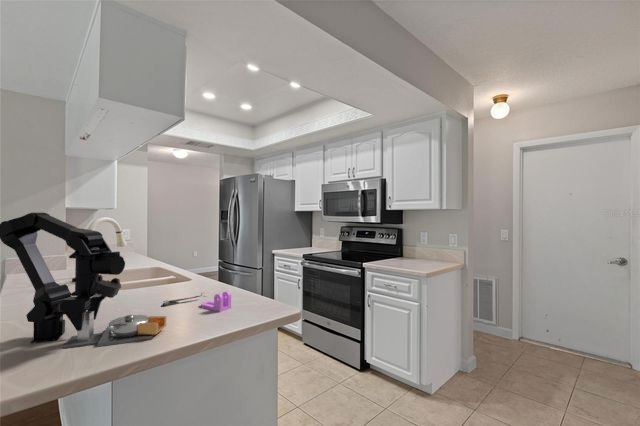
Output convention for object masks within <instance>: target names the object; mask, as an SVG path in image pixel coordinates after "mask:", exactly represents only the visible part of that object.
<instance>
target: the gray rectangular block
mask: <svg viewBox="0 0 640 426" xmlns="http://www.w3.org/2000/svg"><path fill="white" fill-rule="evenodd" d="M94 327H95V320H94V311H88V310H87V311H86V312H85V314H84V320H83V326H82V330H80V331H77V330H76V331H77V335H76V336H77V342H79V341H89V340H90V339H92V338H93V337H94V334H95V333H94V332H95V328H94Z"/></svg>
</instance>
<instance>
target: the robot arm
mask: <svg viewBox="0 0 640 426" xmlns="http://www.w3.org/2000/svg"><path fill="white" fill-rule="evenodd" d="M41 230H42V231H44V232H46V233H48V234H50V235H53V236H55V237H57V238H59V239H62V240H63V241H65V243H66V245H67V246H68V247H69V248H71V249H72V250H73V251H74V252H73V253H71V254H70V255H69V256H68V258H69V259H75V269H74V270H75V271H74V272H75V273H74V277H72V279H71V283H74V291H72V292H71V291H70V289H69V286H68V285H67V284H66V283H65V284H61V285H60V284H59V283H57V282H56V280H55V278H54V276H53V275H52V273H51V271H50V269H49V267H48V265H47V263H46V261H45V260H44V258H43V256H42V253H41V251H40V250H39V248H38V246H37V238H38V232H39V231H41ZM0 241H1V242H2V244H3V245H5V246H7V247H8V248H11V249H12V250H14V252H15V253H16V256H17V258H18V259H19V261H20V263H21V265H22V267H23V269H24V271H25V274H26V276H27V277H28V279H29V281H30V282H31V285H32V287H33V289H34V290H35V292H34V295H33V299H32V303H33V307H32V308H31V309H30V311H29V312H27V314H26V315H25V316H26V319H27V322H29V323H33V338H32V339H31V340H30V343H31V344H33V343H40V342H50V341H56V340H59V339H60V338H61V337H62V336H63V335H64V334H65V333H66V319H64V315H65V316H66V317H67V318H68V320H69V321H70V322H71V324H72V325H73V327H74V328H75V331H80V330H82V326H83V320H84V314H85V312H86V311H94V321H95V320H96V318H97V316H98V313H99V309H100V307H101V304H102V301H104V300H105V299H106V298H109V299H112V298H114V297H116V296H117V295H118V293H119V291H120V289H122V283H121V281H120V279H119V278H117V277H114V278H112V279H111V280H109V279H108V280H104V279H103V277H104V276H103V275H113V276H114V275H115V276H118V275H120V274H122V272H123V271H124V269H125V266H126V261H125V259H124V257H123V256H122V255H121V252H120V251H112V250H111V248H110V246H109V245H108V243H107V242H106V240H105V239H104V237H103V234H102V232H100V231H96V230H92V229H88V228H79V227H76V226H74V225H72V224H70V223H68V222H65V221H63V220H61V219H58V218H56V217H54V216H52V215H50V214H48V212H29V213H27V214H25V215H23V216H22V215H21V216H19V217H16V218H12V219H8V220H4V221H1V222H0Z"/></svg>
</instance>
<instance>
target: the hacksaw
mask: <svg viewBox="0 0 640 426" xmlns="http://www.w3.org/2000/svg"><path fill="white" fill-rule="evenodd" d="M202 294H204V292H202V293H200V295H195V296H191V297H184V298H178V299H172V300H164V301H163V302H164V303H162V304H161V305H160V306H161V307H163V308H165V307H169V306H174V305H175V306H176V305H179V304H185V303H190V302H195V301H197V302H198V299H196V298H200V297H201V296H203V297H204V298H205V297H206V298H207V295H202ZM189 299H192V300H189ZM193 299H194V300H193Z"/></svg>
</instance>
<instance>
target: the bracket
mask: <svg viewBox="0 0 640 426" xmlns="http://www.w3.org/2000/svg"><path fill="white" fill-rule="evenodd" d="M200 305H201V306H200V307H201V308H202V309H206V310H210V311H214V312H218V313H222V312H225V311H227V310H230V309H231V308H232V294H231V292H230V291H228V290H227V291H224V292H223V293H221V292H220V293H216V294H214V297H213V300H206V301H202V302H201V304H200Z"/></svg>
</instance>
